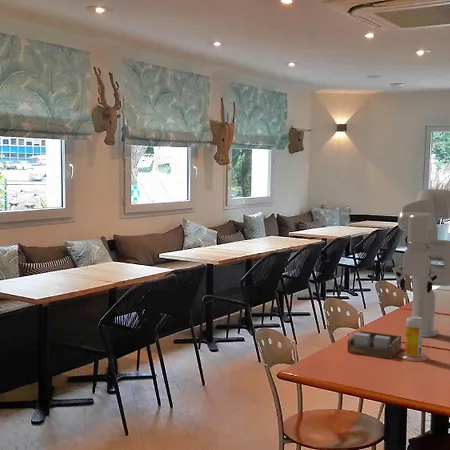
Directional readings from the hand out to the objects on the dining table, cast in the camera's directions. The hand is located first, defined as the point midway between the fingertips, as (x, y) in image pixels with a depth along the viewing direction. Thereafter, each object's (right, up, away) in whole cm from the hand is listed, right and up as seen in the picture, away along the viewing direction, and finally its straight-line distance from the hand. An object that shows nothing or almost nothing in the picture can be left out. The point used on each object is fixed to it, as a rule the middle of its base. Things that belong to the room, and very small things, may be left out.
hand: (415, 290), depth 239 cm
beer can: (0, -26, +2) cm, 26 cm away
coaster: (-1, -26, +2) cm, 26 cm away
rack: (-13, -25, +11) cm, 30 cm away
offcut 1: (-19, -25, +9) cm, 33 cm away
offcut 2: (-12, -26, +5) cm, 29 cm away
